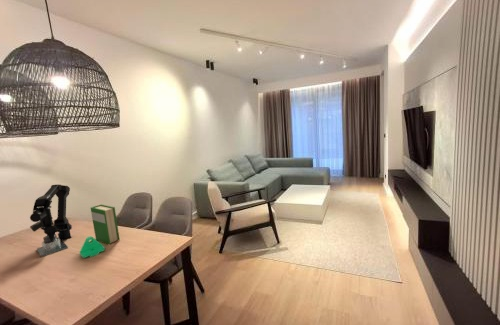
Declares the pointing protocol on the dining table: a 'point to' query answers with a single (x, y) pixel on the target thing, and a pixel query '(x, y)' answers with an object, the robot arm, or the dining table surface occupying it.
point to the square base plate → (51, 247)
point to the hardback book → (105, 223)
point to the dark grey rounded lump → (47, 239)
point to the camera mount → (91, 247)
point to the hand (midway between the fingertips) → (50, 238)
